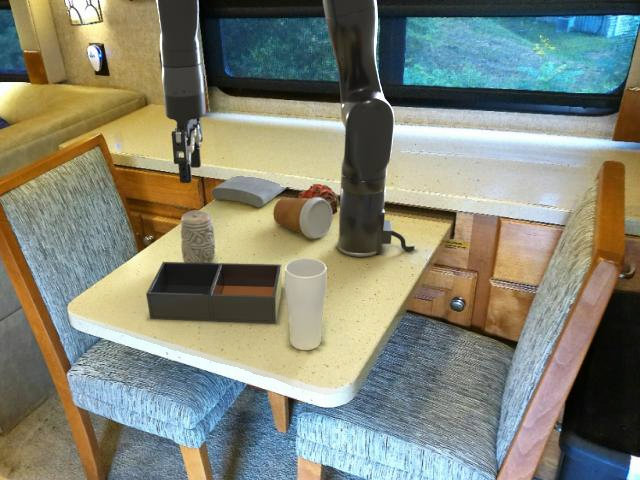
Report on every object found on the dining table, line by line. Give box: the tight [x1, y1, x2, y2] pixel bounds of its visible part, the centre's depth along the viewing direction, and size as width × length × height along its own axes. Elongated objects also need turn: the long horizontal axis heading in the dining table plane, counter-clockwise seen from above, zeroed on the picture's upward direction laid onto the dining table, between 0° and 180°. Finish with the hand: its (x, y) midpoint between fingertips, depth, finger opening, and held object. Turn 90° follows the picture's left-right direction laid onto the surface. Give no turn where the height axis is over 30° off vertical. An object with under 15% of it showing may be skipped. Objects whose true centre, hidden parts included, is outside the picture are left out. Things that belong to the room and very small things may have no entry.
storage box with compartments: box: [145, 261, 283, 325], centre depth 114 cm, size 24×12×6 cm, turn 82°
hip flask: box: [211, 176, 288, 208], centre depth 162 cm, size 16×4×20 cm
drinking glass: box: [284, 257, 328, 351], centre depth 100 cm, size 7×7×15 cm
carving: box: [180, 209, 216, 263], centre depth 126 cm, size 6×8×12 cm
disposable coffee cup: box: [272, 197, 334, 240], centre depth 138 cm, size 10×10×12 cm
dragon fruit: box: [296, 183, 340, 216], centre depth 146 cm, size 8×8×12 cm
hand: (191, 174), depth 118 cm, fingers open, 8 cm apart
